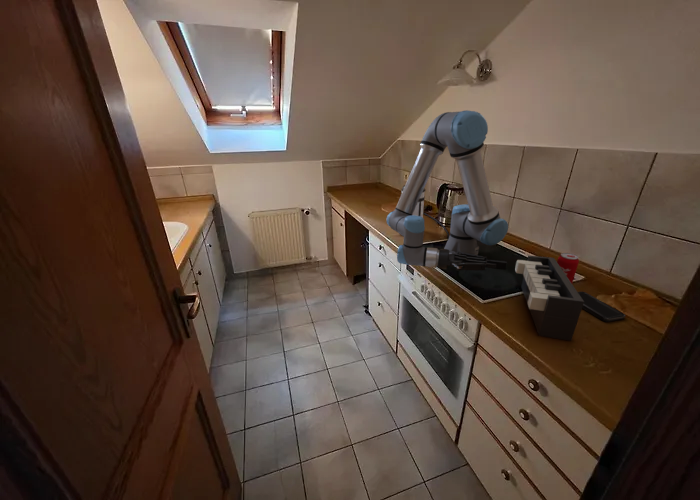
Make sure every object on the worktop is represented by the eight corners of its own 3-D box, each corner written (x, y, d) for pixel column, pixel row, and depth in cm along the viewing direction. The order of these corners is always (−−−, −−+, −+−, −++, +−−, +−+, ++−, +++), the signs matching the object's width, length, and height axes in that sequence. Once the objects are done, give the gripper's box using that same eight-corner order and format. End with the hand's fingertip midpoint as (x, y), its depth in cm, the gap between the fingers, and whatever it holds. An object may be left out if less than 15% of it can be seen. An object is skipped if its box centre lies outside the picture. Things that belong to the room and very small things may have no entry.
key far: (514, 269, 108) (517, 259, 107) (538, 272, 106) (540, 262, 104) (516, 273, 106) (518, 263, 104) (540, 275, 103) (542, 265, 102)
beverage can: (550, 279, 116) (558, 251, 111) (570, 282, 113) (578, 253, 108) (552, 286, 111) (560, 257, 106) (572, 290, 108) (581, 260, 103)
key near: (527, 303, 88) (530, 292, 86) (556, 307, 86) (560, 295, 84) (529, 309, 86) (532, 297, 84) (559, 313, 83) (563, 301, 82)
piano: (516, 286, 112) (523, 254, 107) (545, 290, 109) (554, 257, 104) (533, 334, 87) (543, 296, 81) (571, 341, 84) (584, 301, 79)
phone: (606, 319, 90) (564, 293, 104) (605, 322, 91) (563, 296, 104) (627, 315, 91) (583, 291, 105) (626, 318, 92) (582, 293, 105)
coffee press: (391, 231, 172) (392, 179, 161) (414, 227, 178) (417, 176, 167) (408, 240, 158) (411, 184, 146) (432, 235, 164) (437, 180, 152)
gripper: (438, 260, 121) (501, 267, 114) (435, 274, 110) (506, 283, 103) (439, 243, 119) (505, 249, 111) (437, 256, 107) (510, 263, 100)
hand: (505, 265), depth 107 cm, fingers closed
